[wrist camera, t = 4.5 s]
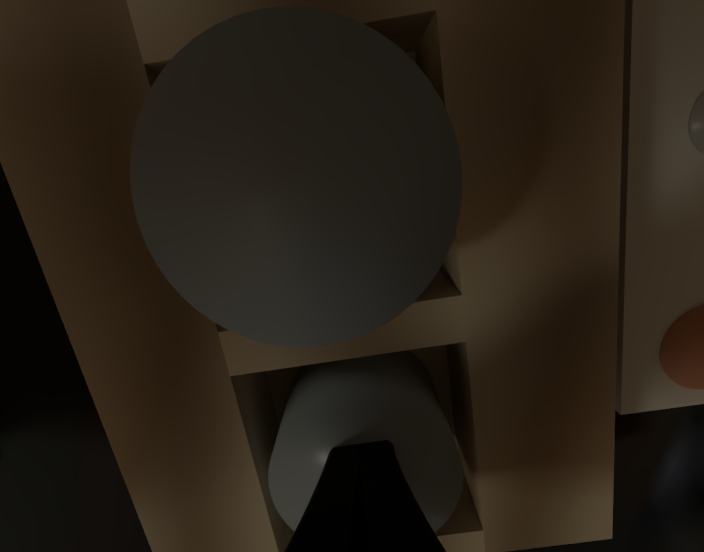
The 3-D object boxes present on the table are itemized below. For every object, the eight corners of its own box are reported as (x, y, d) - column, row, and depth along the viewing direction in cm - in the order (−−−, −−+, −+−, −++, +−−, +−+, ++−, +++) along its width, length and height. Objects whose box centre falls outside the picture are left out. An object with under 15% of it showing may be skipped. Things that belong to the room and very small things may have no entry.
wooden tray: (208, 500, 13) (168, 592, 10) (-34, -245, 8) (-249, -476, 5) (553, 455, 13) (611, 538, 10) (531, -373, 8) (642, -711, 5)
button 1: (304, 472, 12) (289, 566, 9) (275, 348, 11) (247, 411, 8) (442, 454, 12) (470, 544, 9) (426, 325, 11) (454, 382, 8)
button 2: (239, 301, 9) (182, 367, 6) (186, 93, 7) (81, 42, 5) (433, 271, 8) (474, 324, 6) (408, 53, 7) (445, -27, 4)
